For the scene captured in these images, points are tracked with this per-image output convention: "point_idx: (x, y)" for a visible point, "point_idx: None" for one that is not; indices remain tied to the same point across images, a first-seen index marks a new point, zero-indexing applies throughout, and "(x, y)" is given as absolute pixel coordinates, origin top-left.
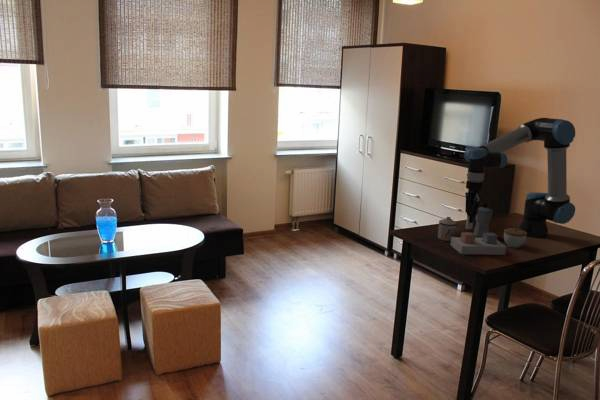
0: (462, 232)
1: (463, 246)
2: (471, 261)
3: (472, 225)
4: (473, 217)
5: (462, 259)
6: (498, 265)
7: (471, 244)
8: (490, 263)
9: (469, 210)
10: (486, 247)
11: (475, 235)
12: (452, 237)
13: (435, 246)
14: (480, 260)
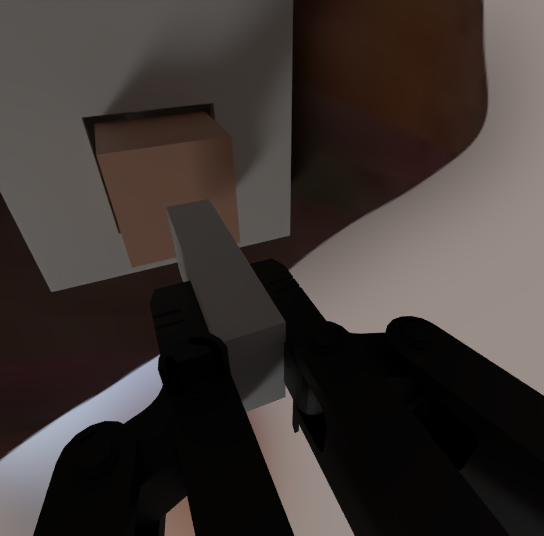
0: (139, 259)
1: (288, 224)
2: (381, 174)
3: (225, 227)
4: (322, 318)
5: (349, 216)
6: (469, 11)
7: (245, 154)
8: (429, 58)
9: (343, 505)
10: (288, 6)
11: (230, 136)
12: (56, 283)
13: (136, 335)
14: (375, 111)
